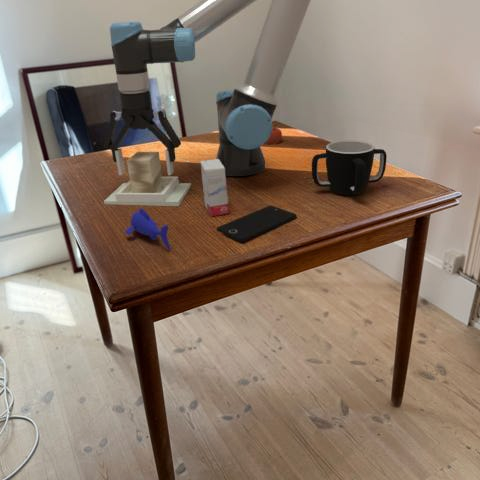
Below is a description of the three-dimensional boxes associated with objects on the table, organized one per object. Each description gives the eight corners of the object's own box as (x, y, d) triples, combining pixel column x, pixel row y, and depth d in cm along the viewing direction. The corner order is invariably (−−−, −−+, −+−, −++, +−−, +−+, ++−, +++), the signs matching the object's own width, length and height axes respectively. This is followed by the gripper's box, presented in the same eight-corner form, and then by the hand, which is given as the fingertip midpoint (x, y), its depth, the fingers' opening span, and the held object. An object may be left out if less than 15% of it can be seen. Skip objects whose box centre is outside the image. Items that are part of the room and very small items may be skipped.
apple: (261, 144, 172) (261, 122, 169) (282, 144, 171) (282, 122, 168) (260, 150, 166) (259, 127, 162) (281, 150, 165) (281, 127, 161)
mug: (340, 176, 137) (342, 135, 132) (390, 188, 127) (395, 144, 121) (304, 192, 127) (305, 148, 122) (356, 206, 117) (359, 159, 111)
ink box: (229, 214, 116) (226, 167, 111) (209, 217, 115) (205, 170, 110) (222, 202, 124) (219, 157, 119) (203, 204, 123) (199, 160, 118)
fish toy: (120, 235, 109) (115, 207, 106) (149, 224, 113) (145, 198, 110) (156, 256, 98) (151, 227, 95) (186, 244, 103) (182, 215, 100)
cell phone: (215, 231, 109) (215, 227, 108) (270, 208, 119) (270, 205, 119) (242, 243, 103) (242, 239, 102) (297, 217, 113) (297, 214, 113)
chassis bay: (191, 188, 134) (190, 176, 133) (178, 207, 122) (177, 194, 120) (123, 188, 137) (122, 176, 136) (104, 206, 125) (102, 194, 123)
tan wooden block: (163, 186, 132) (158, 151, 128) (154, 197, 125) (149, 160, 121) (142, 186, 133) (137, 151, 129) (132, 197, 126) (126, 160, 122)
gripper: (187, 86, 119) (195, 169, 128) (93, 89, 123) (107, 169, 132) (179, 92, 112) (188, 178, 121) (80, 94, 116) (96, 178, 125)
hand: (146, 173), depth 127 cm, fingers open, 13 cm apart
